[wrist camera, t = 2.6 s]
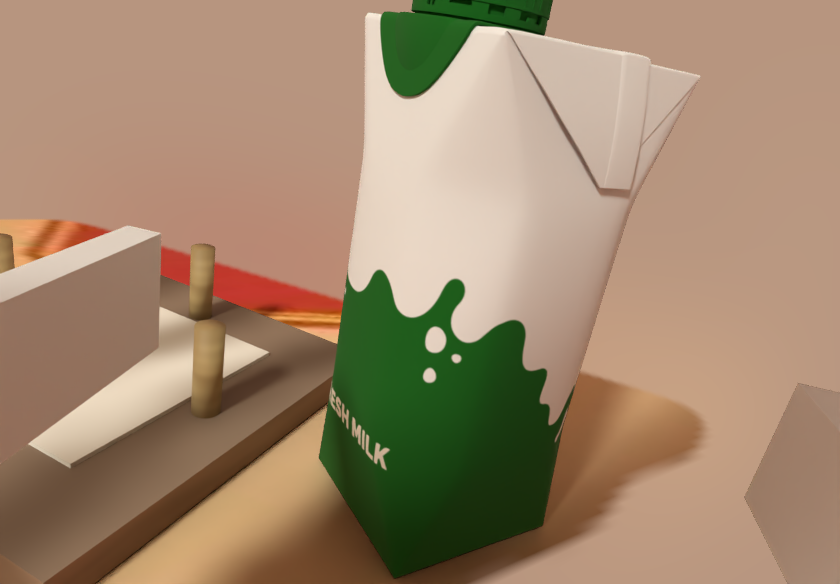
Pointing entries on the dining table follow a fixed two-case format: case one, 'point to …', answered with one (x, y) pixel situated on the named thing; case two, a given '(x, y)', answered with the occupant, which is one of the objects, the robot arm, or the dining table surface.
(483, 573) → the dining table surface
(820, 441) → the robot arm
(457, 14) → the soya milk
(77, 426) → the pin base plate
